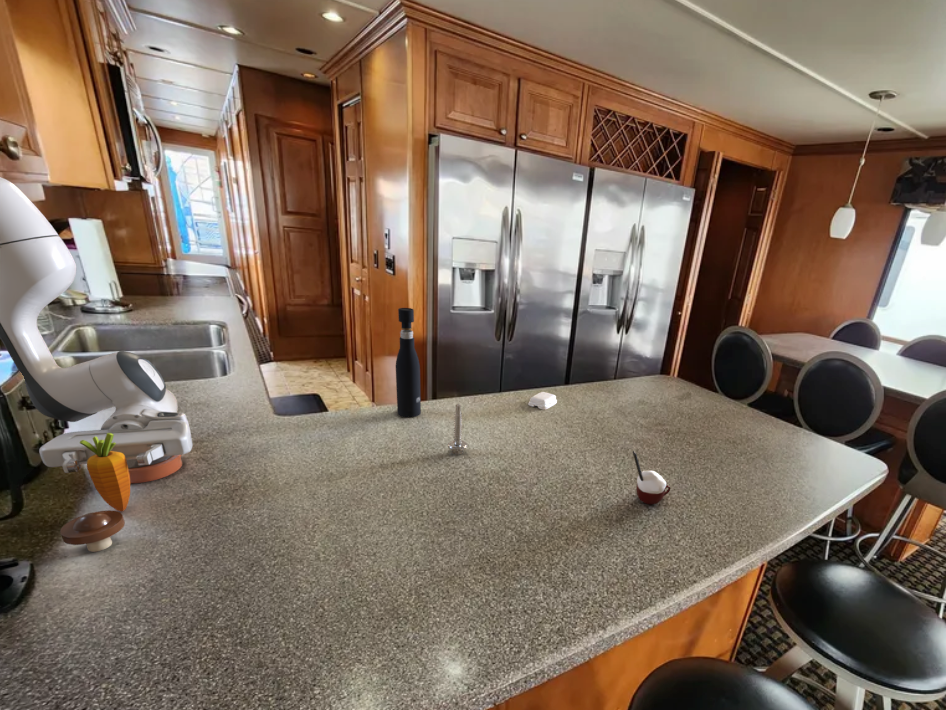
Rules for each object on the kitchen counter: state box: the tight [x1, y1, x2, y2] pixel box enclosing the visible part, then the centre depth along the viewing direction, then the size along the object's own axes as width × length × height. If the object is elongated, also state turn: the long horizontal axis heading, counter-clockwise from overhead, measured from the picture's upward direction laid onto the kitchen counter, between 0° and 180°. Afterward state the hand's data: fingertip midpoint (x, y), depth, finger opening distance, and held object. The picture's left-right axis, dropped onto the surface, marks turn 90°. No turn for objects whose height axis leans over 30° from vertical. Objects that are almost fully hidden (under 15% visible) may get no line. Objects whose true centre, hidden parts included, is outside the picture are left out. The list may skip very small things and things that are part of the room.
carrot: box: [80, 433, 131, 513], centre depth 78 cm, size 5×5×15 cm
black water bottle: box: [395, 307, 422, 419], centre depth 127 cm, size 6×6×30 cm
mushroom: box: [59, 510, 126, 553], centre depth 72 cm, size 7×7×6 cm
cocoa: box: [632, 450, 671, 505], centre depth 99 cm, size 10×6×12 cm, turn 77°
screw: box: [447, 403, 469, 456], centre depth 111 cm, size 13×5×5 cm
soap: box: [528, 391, 558, 410], centre depth 149 cm, size 9×7×3 cm
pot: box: [126, 454, 183, 484], centre depth 93 cm, size 12×12×3 cm
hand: (106, 465), depth 78 cm, fingers open, 8 cm apart
